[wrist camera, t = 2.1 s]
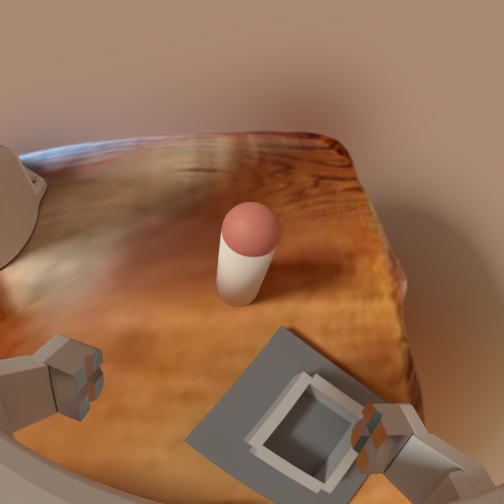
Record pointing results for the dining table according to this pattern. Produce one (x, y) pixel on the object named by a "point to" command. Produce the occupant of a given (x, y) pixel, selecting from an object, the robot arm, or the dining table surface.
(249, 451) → the jig
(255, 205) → the pink-topped post
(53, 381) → the robot arm
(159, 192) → the dining table surface
